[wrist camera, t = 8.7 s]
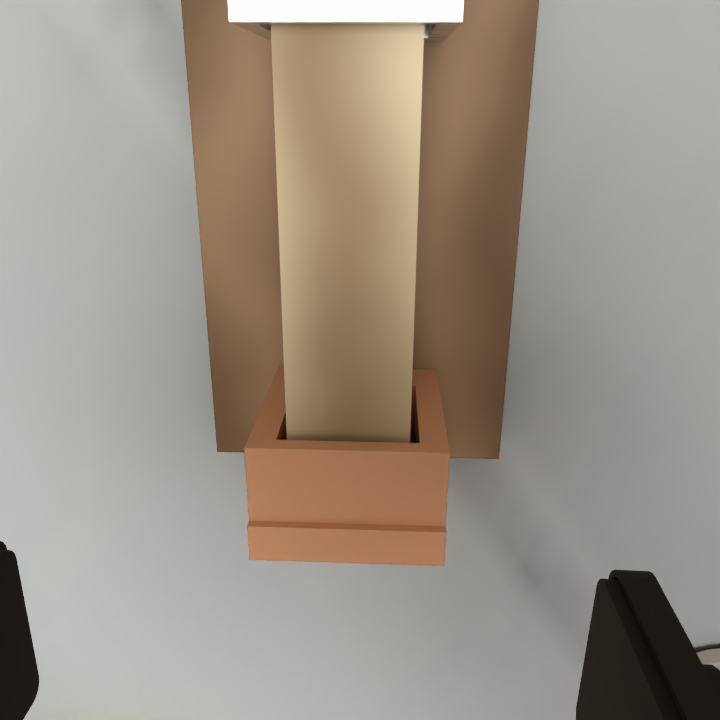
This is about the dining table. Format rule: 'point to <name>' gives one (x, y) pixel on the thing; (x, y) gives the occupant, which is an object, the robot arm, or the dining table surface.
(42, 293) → the dining table surface
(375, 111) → the tube
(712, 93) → the dining table surface
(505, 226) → the walnut board
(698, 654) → the robot arm
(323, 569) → the dining table surface
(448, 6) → the metal sleeve
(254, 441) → the terracotta socket
